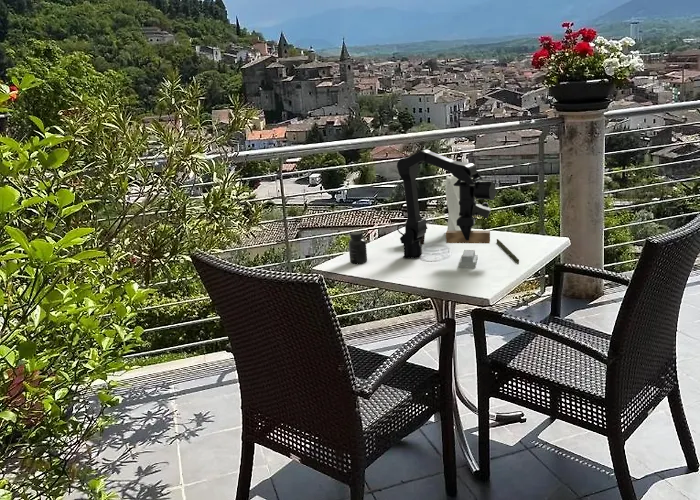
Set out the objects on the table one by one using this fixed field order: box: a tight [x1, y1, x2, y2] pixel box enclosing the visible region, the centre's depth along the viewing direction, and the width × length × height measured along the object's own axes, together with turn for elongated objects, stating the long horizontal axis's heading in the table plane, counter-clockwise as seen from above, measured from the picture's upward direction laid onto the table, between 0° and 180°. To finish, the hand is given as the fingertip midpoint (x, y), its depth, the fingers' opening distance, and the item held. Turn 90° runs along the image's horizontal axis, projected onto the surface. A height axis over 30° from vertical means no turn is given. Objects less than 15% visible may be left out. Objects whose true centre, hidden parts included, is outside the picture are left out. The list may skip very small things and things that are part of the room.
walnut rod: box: [445, 230, 491, 244], centre depth 253 cm, size 16×4×4 cm, turn 75°
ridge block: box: [458, 249, 479, 268], centre depth 256 cm, size 6×10×4 cm, turn 165°
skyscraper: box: [443, 174, 461, 235], centre depth 299 cm, size 8×8×28 cm
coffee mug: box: [396, 220, 426, 246], centre depth 289 cm, size 12×9×10 cm
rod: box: [496, 238, 520, 264], centre depth 267 cm, size 31×1×2 cm, turn 2°
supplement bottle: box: [348, 231, 368, 265], centre depth 266 cm, size 7×7×12 cm
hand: (467, 239), depth 254 cm, fingers closed on walnut rod, 3 cm apart
